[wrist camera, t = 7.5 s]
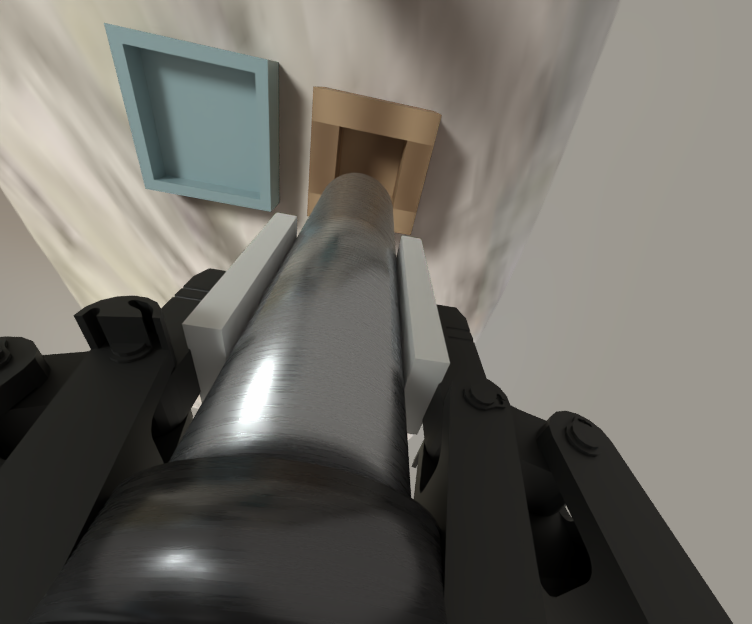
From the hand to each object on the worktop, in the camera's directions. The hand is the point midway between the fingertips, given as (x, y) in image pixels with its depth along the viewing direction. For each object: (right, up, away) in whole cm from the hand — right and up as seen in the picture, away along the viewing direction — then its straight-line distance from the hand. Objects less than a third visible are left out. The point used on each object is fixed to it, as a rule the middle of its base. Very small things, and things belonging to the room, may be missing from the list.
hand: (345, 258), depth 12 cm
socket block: (+1, +13, +18) cm, 23 cm away
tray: (-14, +15, +17) cm, 27 cm away
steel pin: (0, +3, +5) cm, 6 cm away
